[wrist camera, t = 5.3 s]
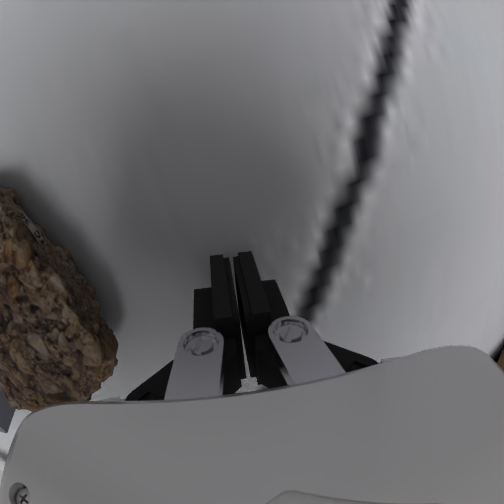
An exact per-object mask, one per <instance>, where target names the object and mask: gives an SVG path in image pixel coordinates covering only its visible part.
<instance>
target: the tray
mask: <svg viewBox="0 0 504 504" xmlns="http://www.w3.org/2000/svg"><path fill="white" fill-rule="evenodd" d="M15 409H16V408H15V407H10V405H9V403H8V400H7V398H6V397H5V395H4V393H3V392H2V391H0V431H1V432H4V433H7V432H8V429H9V426H10V423H11V420H12V418H13V415H14V412H15Z"/></svg>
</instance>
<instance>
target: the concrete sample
mask: <svg viewBox="0 0 504 504" xmlns="http://www.w3.org/2000/svg"><path fill="white" fill-rule="evenodd" d="M18 202H19V199H18V198H17V196H16V193H15V191H14V189H11V188H1V187H0V391H2V392H3V393H4V395H5V397H6V398H7V400H8V403H9V405H10V407H15V408H17V409H18V410H20V409H26V410H29V411H32V412H34V411H36V410H38V409H41V408H44V407H47V406H51V405H54V404H61V403H67V402H80V401H89V400H91V394H93V393H94V392H95V391H97V390H99V389H100V388H101V382H104V381H105V380H106V379H107V378H109V377H110V376H112V374H113V370H114V367H115V366H116V365H117V362H118V360H117V359H116V353H117V349H118V342H117V340H116V337H115V335H114V334H113V330H112V329H110V328H109V327H108V325H107V323H106V320H105V319H104V318H103V317H101V313H100V305H99V302H98V301H95V300H93V298H94V296H95V290H94V287H92V286H88V285H86V279H85V278H84V277H83V275H81V274H79V273H78V272H77V266H76V265H75V262H74V261H73V260H72V258H71V255H70V253H69V252H67V251H66V250H65V249H63V248H62V247H60V246H54V245H53V244H52V243H51V241H50V240H49V239H48V238H47V237H46V235H45V234H44V229H43V228H42V227H40V226H39V225H37V224H35V223H33V221H31V220H30V219H29V217H28V216H27V215H26V213H25V212H24V210H23V209H22V208H21V207H20V206H19V205H18Z"/></svg>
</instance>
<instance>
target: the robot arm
mask: <svg viewBox="0 0 504 504" xmlns="http://www.w3.org/2000/svg"><path fill="white" fill-rule="evenodd" d="M233 262H234V272H235V282H236V292H237V301H238V306H237V301H236V295H235V289H234V284H233V278H232V272H231V266H230V261H229V257H227V258H224V256H223V255H214V256H210V267H211V285H212V287H211V288H202V289H195V290H194V321H193V330H190V331H188V332H187V333H185V334H184V335H183V336H182V337H181V338H180V340H179V343H178V346H177V350H176V354H175V358H174V360H172V361H171V362H170V363H169V364H167V365H166V366H165V367H163V368H162V369H161V370H160V371H158V372H157V373H156V374H154V375H153V376H152V377H150V378H149V379H148V380H146V381H145V382H144V383H143V384H141V385H140V386H139V387H137V388H136V389H135V390H133V391H132V392H131V393H130V394H129V395H128V396H127V398H126V399H122V400H121V399H120V397H116V398H110V399H105V400H99V401H80V402H67V403H61V404H54V405H51V406H47V407H44V408H41V409H38V410H36V411H34V412H32V413H30V414H29V415H28V416H27V417H26V418H25V419H24V420H23V421H22V423H21V424H20V426H19V428H18V430H17V432H16V434H15V436H14V439H13V441H12V444H11V447H10V450H9V453H8V456H7V460H6V463H5V467H4V471H3V476H2V480H1V486H0V504H504V371H503V370H502V368H501V367H500V366H499V365H498V364H497V363H496V362H495V361H494V360H493V359H492V358H491V357H490V356H488V355H487V354H486V353H484V352H483V351H481V350H480V349H477V348H475V347H470V346H444V347H437V348H433V349H429V350H424V351H421V352H418V353H414V354H411V355H407V356H404V357H397V358H387V359H381V362H378V363H377V362H376V361H375V360H373V359H371V358H369V357H366V356H364V355H361V354H358V353H355V352H352V351H349V350H347V349H344V348H341V347H338V346H336V345H333V344H330V343H328V342H325V341H323V340H322V339H321V337H320V336H319V335H318V333H317V332H316V330H315V329H314V328H313V326H312V325H311V324H310V323H309V322H308V321H307V320H305V319H303V318H300V317H296V316H290V315H289V312H288V310H287V307H286V305H285V302H284V300H283V297H282V295H281V292H280V290H279V288H278V285H277V283H276V281H275V280H267V281H261V279H260V276H259V273H258V270H257V267H256V264H255V261H254V257H253V254H252V252H251V251H248V252H239V253H238V256H235V257H233ZM238 311H239V312H238ZM239 318H240V319H239ZM240 323H241V327H240ZM241 329H242V334H243V339H244V345H245V350H246V355H247V361H248V366H249V371H250V376H251V377H256V378H257V382H258V385H260V384H262V385H264V386H266V387H268V388H270V389H264V390H258V391H251V392H244V393H236V394H234V393H235V392H236V391H237V390H238V389H239V388H240V387H241V386H242V385H241V379H244V378H246V372H245V363H244V354H243V345H242V336H241Z"/></svg>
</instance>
